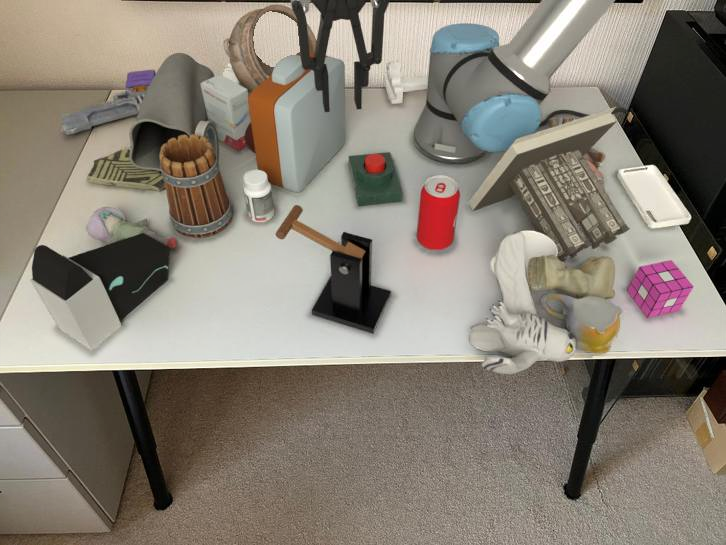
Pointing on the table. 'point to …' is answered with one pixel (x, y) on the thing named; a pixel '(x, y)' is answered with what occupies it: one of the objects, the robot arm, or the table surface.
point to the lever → (314, 234)
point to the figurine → (590, 157)
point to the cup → (534, 247)
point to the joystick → (401, 82)
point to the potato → (249, 138)
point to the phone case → (653, 196)
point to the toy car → (230, 74)
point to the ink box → (227, 109)
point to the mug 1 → (195, 183)
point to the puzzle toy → (659, 288)
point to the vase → (168, 109)
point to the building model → (557, 185)
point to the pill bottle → (258, 196)
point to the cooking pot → (242, 47)
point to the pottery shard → (124, 173)
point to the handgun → (111, 105)
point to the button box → (375, 181)
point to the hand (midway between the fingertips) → (342, 105)
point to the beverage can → (438, 212)
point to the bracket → (352, 289)
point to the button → (375, 163)
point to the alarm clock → (297, 122)
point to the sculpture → (573, 277)
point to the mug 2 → (587, 320)
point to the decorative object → (99, 285)
